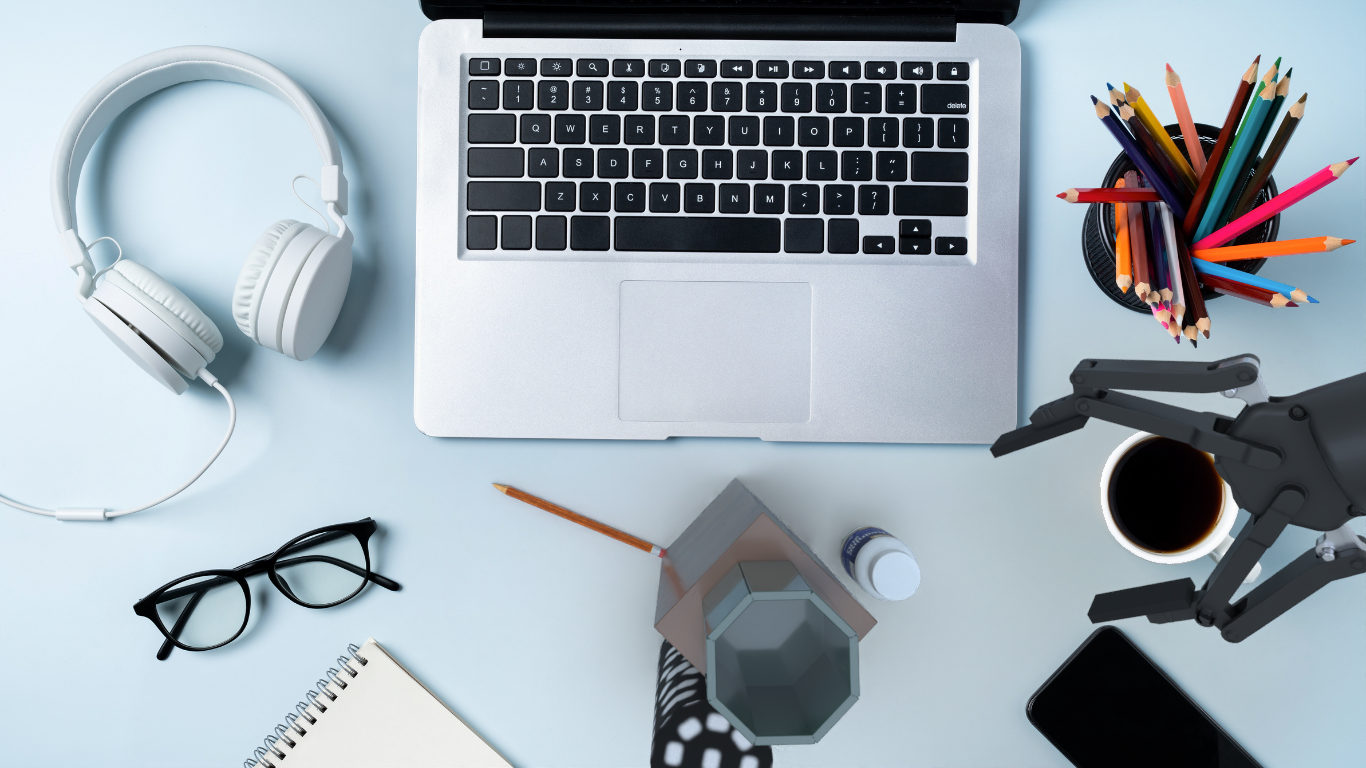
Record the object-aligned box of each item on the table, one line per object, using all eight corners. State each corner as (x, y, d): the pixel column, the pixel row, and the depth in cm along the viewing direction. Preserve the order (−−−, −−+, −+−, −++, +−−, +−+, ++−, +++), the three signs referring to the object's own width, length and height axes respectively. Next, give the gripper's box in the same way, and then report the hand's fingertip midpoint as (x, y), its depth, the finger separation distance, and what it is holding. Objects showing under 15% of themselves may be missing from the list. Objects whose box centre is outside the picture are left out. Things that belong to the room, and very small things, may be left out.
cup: (855, 622, 48) (890, 665, 40) (768, 716, 48) (785, 777, 40) (763, 534, 48) (780, 559, 40) (675, 626, 48) (674, 670, 40)
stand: (812, 550, 72) (878, 622, 48) (739, 628, 72) (768, 738, 48) (735, 477, 72) (763, 511, 48) (662, 554, 72) (653, 627, 48)
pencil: (664, 558, 72) (664, 559, 72) (489, 486, 72) (487, 487, 72) (668, 550, 72) (667, 551, 72) (492, 478, 72) (490, 479, 72)
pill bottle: (880, 514, 72) (911, 531, 63) (905, 566, 72) (940, 591, 62) (829, 540, 72) (852, 561, 62) (854, 591, 72) (881, 620, 62)
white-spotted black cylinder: (738, 714, 72) (761, 833, 52) (650, 698, 72) (639, 811, 52) (754, 626, 72) (783, 710, 52) (666, 610, 72) (662, 688, 52)
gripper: (1530, 596, 43) (1143, 647, 58) (1300, 216, 44) (975, 362, 59) (1558, 677, 38) (1124, 710, 53) (1296, 243, 39) (939, 396, 53)
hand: (1045, 527), depth 56 cm, fingers open, 13 cm apart
